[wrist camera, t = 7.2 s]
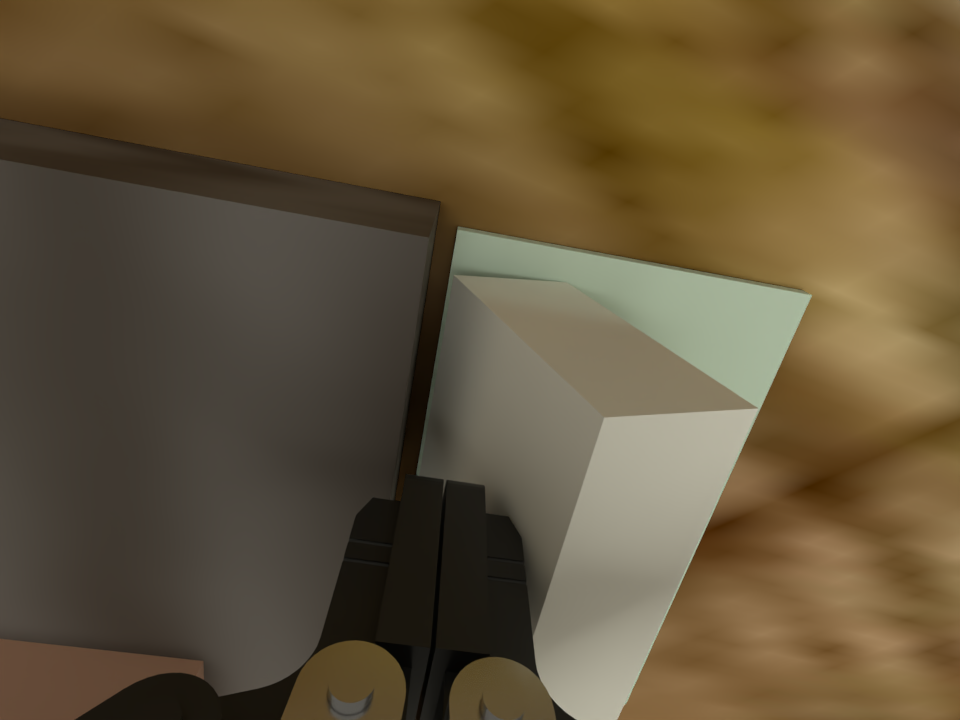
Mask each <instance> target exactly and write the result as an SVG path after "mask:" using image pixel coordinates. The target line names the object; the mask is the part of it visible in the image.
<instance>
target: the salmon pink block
mask: <svg viewBox="0 0 960 720" xmlns="http://www.w3.org/2000/svg"><path fill="white" fill-rule="evenodd" d="M164 673H186V674H191V675H194V676H197V677H200V678H201V679H203V680H204V664H203V661H199V660H189V659H180V658H171V657H162V656H153V655H144V654H135V653H126V652H116V651H107V650H98V649H89V648H80V647H71V646H62V645H53V644H43V643H34V642H25V641H16V640H7V639H0V720H75V719H76V718H78V717H80V716H81V715H83V714H84V713H86V712H88V711H89V710H91V709H92V708H94V707H96V706H97V705H99V704H100V703H102V702H104V701H105V700H107V699H108V698H110V697H112V696H113V695H115V694H116V693H118V692H120V691H121V690H123V689H124V688H126V687H128V686H130V685H132V684H133V683H135V682H138V681H140V680H142V679H145V678H147V677H151V676H154V675H158V674H164Z"/></svg>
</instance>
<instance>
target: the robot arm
mask: <svg viewBox="0 0 960 720" xmlns="http://www.w3.org/2000/svg"><path fill="white" fill-rule="evenodd" d="M443 485H444V479H438V478H431V477H424V476H418V475H411V474H406V476H405V482H404V487H403V493H402V498H401V501H395V500H388V499H381V498H374V497H373V498H372V499H371V500H370V501H369V502H368V503H367V504H366V505H365V506H364V507H363V508H362V509H361V510H360V511H359V512H358V513H357V514H356V516H355V520H354V523H353V527H352V530H351V533H350V537H349V542H348V544H347V547H346V551H345V554H344V558H343V562H342V565H341V568H340V572H339V575H338V578H337V582H336V585H335V589H334V592H333V596H332V599H331V603H330V606H329V610H328V613H327V617H326V620H325V623H324V627H323V630H322V634H321V637H320V640H319V642H318V645H317V647H316V649H315V650H314V652H313V654H312V655H311V656H310V658H309V659H308V660H307V661H306V662H305V663H304V664H303V665H302V666H301V667H300V668H299V669H298V670H296V671H295V672H294V673H292V674H291V675H290V676H288V677H286V678H284V679H283V680H281V681H279V682H276V683H274V684H271V685H269V686H265V687H262V688H258V689H253V690H248V691H243V692H239V693H234V694H229V695H224V696H219V697H218V695H217V693H216V692H215V690H214V688H213V687H212V686H211V685H210V684H209V683H208V682H206V681H205V680H203V679H201V678H200V677H197V676H194V675H191V674H186V673H164V674H158V675H154V676H151V677H147V678H145V679H142V680H140V681H138V682H135V683H133V684H132V685H130V686H128V687H126V688H124V689H123V690H121V691H120V692H118V693H116V694H115V695H113V696H112V697H110V698H108V699H107V700H105V701H104V702H102V703H100V704H99V705H97V706H96V707H94V708H92V709H91V710H89V711H88V712H86V713H84V714H83V715H81V716H80V717H78V718H76V719H75V720H576V719H574V718H573V717H572V716H570V715H569V714H567V713H566V712H565V711H564V710H563V709H562V708H560V707H559V706H558V705H557V704H556V702H555V701H554V700H553V699H552V698H551V697H550V695H549V693H548V691H547V689H546V688H545V686H544V684H543V683H542V682H541V680H540V677H539V674H538V671H537V667H536V661H535V652H534V643H533V634H532V625H531V616H530V607H529V598H528V589H527V586H526V572H525V566H524V554H523V545H522V537H521V536H520V534H519V533H518V531H517V529H516V528H515V526H514V524H513V523H512V521H511V520H510V518H509V516H502V515H495V514H488V513H486V503H485V486H484V485H480V484H474V483H467V482H460V481H453V480H446V483H445V488H444V493H443Z"/></svg>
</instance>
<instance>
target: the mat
mask: <svg viewBox="0 0 960 720" xmlns="http://www.w3.org/2000/svg"><path fill="white" fill-rule="evenodd" d="M454 275H463V276H479V277H494V278H509V279H524V280H540V281H555V282H567V283H569V284H570V285H572V286H573V287H575V288H576V289H578V290H579V291H581V292H582V293H584V294H585V295H587V296H588V297H590V298H591V299H593V300H594V301H596V302H597V303H599V304H600V305H602V306H604V307H605V308H607V309H608V310H610V311H611V312H613V313H614V314H616V315H617V316H619V317H620V318H622V319H623V320H625V321H626V322H628V323H629V324H631V325H632V326H634V327H635V328H637V329H638V330H640V331H642V332H643V333H645V334H646V335H648V336H649V337H651V338H652V339H654V340H655V341H657V342H658V343H660V344H661V345H663V346H664V347H666V348H667V349H669V350H670V351H672V352H673V353H675V354H676V355H678V356H679V357H681V358H683V359H684V360H686V361H687V362H689V363H690V364H692V365H693V366H695V367H696V368H698V369H699V370H701V371H702V372H704V373H705V374H707V375H708V376H710V377H711V378H713V379H714V380H716V381H717V382H719V383H721V384H722V385H724V386H725V387H727V388H728V389H730V390H731V391H733V392H734V393H736V394H737V395H739V396H740V397H742V398H743V399H745V400H746V401H748V402H749V403H751V404H752V405H754V406H755V407H757V408H758V411H757V413H756V415H755V417H754V419H753V422H752V424H751V426H750V428H749V430H748V433H747V435H746V437H745V439H744V441H743V444H742V446H741V448H740V450H739V452H738V455H737V457H736V459H735V461H734V463H733V466H732V468H731V470H730V472H729V474H728V477H727V479H726V481H725V483H724V485H723V488H722V490H721V492H720V494H719V496H718V499H717V501H716V503H715V505H714V507H713V510H712V512H711V514H710V516H709V518H708V521H707V523H706V525H705V527H704V529H703V532H702V534H701V536H700V538H699V541H698V543H697V545H696V547H695V549H694V552H693V554H692V556H691V558H690V560H689V563H688V565H687V567H686V569H685V571H684V574H683V576H682V578H681V580H680V582H679V585H678V587H677V589H676V591H675V593H674V596H673V598H672V600H671V602H670V604H669V607H668V609H667V611H666V613H665V615H664V618H663V620H662V622H661V624H660V626H659V629H658V631H657V633H656V635H655V637H654V640H653V642H652V644H651V646H650V648H649V651H648V653H647V655H646V657H645V659H644V662H643V664H642V666H641V668H640V670H639V673H638V675H637V677H636V679H635V681H634V684H633V686H632V688H631V690H630V693H629V695H628V697H627V699H626V701H625V704H626V703H627V701H628V698H629V696H630V694H631V692H632V690H633V687H634V685H635V683H636V681H637V679H638V676H639V674H640V672H641V670H642V668H643V665H644V663H645V661H646V659H647V657H648V654H649V652H650V650H651V648H652V646H653V643H654V641H655V639H656V637H657V635H658V632H659V630H660V628H661V626H662V624H663V621H664V619H665V617H666V615H667V613H668V610H669V608H670V606H671V604H672V602H673V599H674V597H675V595H676V593H677V591H678V588H679V586H680V584H681V582H682V580H683V577H684V575H685V573H686V571H687V569H688V566H689V564H690V562H691V560H692V558H693V555H694V553H695V551H696V549H697V547H698V544H699V542H700V540H701V538H702V536H703V534H704V531H705V529H706V527H707V525H708V523H709V520H710V518H711V516H712V514H713V512H714V509H715V507H716V505H717V503H718V501H719V498H720V496H721V494H722V492H723V490H724V487H725V485H726V483H727V481H728V479H729V476H730V474H731V472H732V470H733V468H734V465H735V463H736V461H737V459H738V457H739V454H740V452H741V450H742V448H743V446H744V443H745V441H746V439H747V437H748V435H749V432H750V430H751V428H752V426H753V424H754V421H755V419H756V417H757V415H758V413H759V410H760V408H761V406H762V404H763V402H764V399H765V397H766V395H767V393H768V391H769V388H770V386H771V384H772V382H773V380H774V377H775V375H776V373H777V371H778V369H779V366H780V364H781V362H782V360H783V358H784V355H785V353H786V351H787V349H788V347H789V345H790V342H791V340H792V338H793V336H794V334H795V331H796V329H797V327H798V325H799V323H800V320H801V318H802V316H803V314H804V312H805V309H806V307H807V305H808V303H809V301H810V298H811V296H812V295H811V294H809V293H807V292H805V291H803V290H798V289H793V288H788V287H782V286H777V285H771V284H766V283H761V282H755V281H750V280H744V279H739V278H734V277H728V276H723V275H717V274H712V273H707V272H701V271H696V270H691V269H685V268H680V267H674V266H669V265H664V264H658V263H653V262H647V261H642V260H637V259H631V258H626V257H621V256H615V255H610V254H604V253H599V252H594V251H588V250H583V249H577V248H572V247H567V246H561V245H556V244H550V243H545V242H540V241H534V240H529V239H524V238H518V237H513V236H507V235H502V234H497V233H491V232H486V231H480V230H475V229H470V228H464V227H459V226H458V228H457V234H456V240H455V246H454V252H453V258H452V264H451V270H450V276H449V282H448V288H447V293H446V299H445V305H444V311H443V317H442V323H441V329H440V335H439V341H438V347H437V353H436V359H435V365H434V371H433V376H432V382H431V388H430V394H429V400H428V406H427V412H426V418H425V424H424V430H423V436H422V442H421V448H420V453H419V459H418V465H417V471H416V475H418V476H419V473H420V468H421V462H422V456H423V450H424V444H425V439H426V433H427V427H428V421H429V415H430V410H431V404H432V398H433V392H434V387H435V381H436V375H437V369H438V363H439V358H440V352H441V346H442V340H443V334H444V329H445V323H446V317H447V311H448V305H449V300H450V294H451V288H452V282H453V276H454Z"/></svg>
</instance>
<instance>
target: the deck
mask: <svg viewBox="0 0 960 720" xmlns="http://www.w3.org/2000/svg"><path fill="white" fill-rule="evenodd" d="M439 209H440V201H435V200H430V199H424V198H419V197H414V196H408V195H403V194H398V193H393V192H387V191H382V190H377V189H371V188H366V187H361V186H356V185H350V184H345V183H340V182H334V181H329V180H324V179H319V178H313V177H308V176H303V175H297V174H292V173H287V172H282V171H276V170H271V169H266V168H260V167H255V166H250V165H245V164H239V163H234V162H229V161H223V160H218V159H213V158H208V157H202V156H197V155H192V154H186V153H181V152H176V151H171V150H165V149H160V148H155V147H149V146H144V145H139V144H134V143H128V142H123V141H118V140H112V139H107V138H102V137H97V136H91V135H86V134H81V133H75V132H70V131H65V130H60V129H54V128H49V127H44V126H38V125H33V124H28V123H23V122H17V121H12V120H7V119H1V118H0V639H7V640H16V641H25V642H34V643H43V644H53V645H62V646H71V647H80V648H89V649H98V650H107V651H116V652H126V653H135V654H144V655H153V656H162V657H171V658H180V659H189V660H199V661H203V664H204V680H205V681H206V682H208V683H209V684H210V685H211V686H212V687H213V688H214V690H215V692H216V693H217V695H218V697H219V696H224V695H229V694H234V693H239V692H243V691H248V690H253V689H258V688H262V687H265V686H269V685H271V684H274V683H276V682H279V681H281V680H283V679H284V678H286V677H288V676H290V675H291V674H292V673H294V672H295V671H296V670H298V669H299V668H300V667H301V666H302V665H303V664H304V663H305V662H306V661H307V660H308V659H309V658H310V656H311V655H312V654H313V652H314V650H315V649H316V647H317V645H318V642H319V640H320V637H321V634H322V630H323V627H324V623H325V620H326V617H327V613H328V610H329V606H330V603H331V599H332V596H333V592H334V589H335V585H336V582H337V578H338V575H339V572H340V568H341V565H342V562H343V558H344V554H345V551H346V547H347V544H348V542H349V537H350V533H351V530H352V527H353V523H354V520H355V516H356V514H357V513H358V512H359V511H360V510H361V509H362V508H363V507H364V506H365V505H366V504H367V503H368V502H369V501H370V500H371V499H372V498H373V497H374V498H381V499H388V500H395V496H396V490H397V483H398V477H399V470H400V464H401V457H402V451H403V444H404V437H405V431H406V424H407V418H408V411H409V405H410V398H411V392H412V385H413V379H414V372H415V366H416V359H417V353H418V346H419V340H420V333H421V327H422V320H423V313H424V307H425V300H426V294H427V287H428V281H429V274H430V268H431V261H432V255H433V248H434V242H435V235H436V229H437V222H438V216H439Z"/></svg>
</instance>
